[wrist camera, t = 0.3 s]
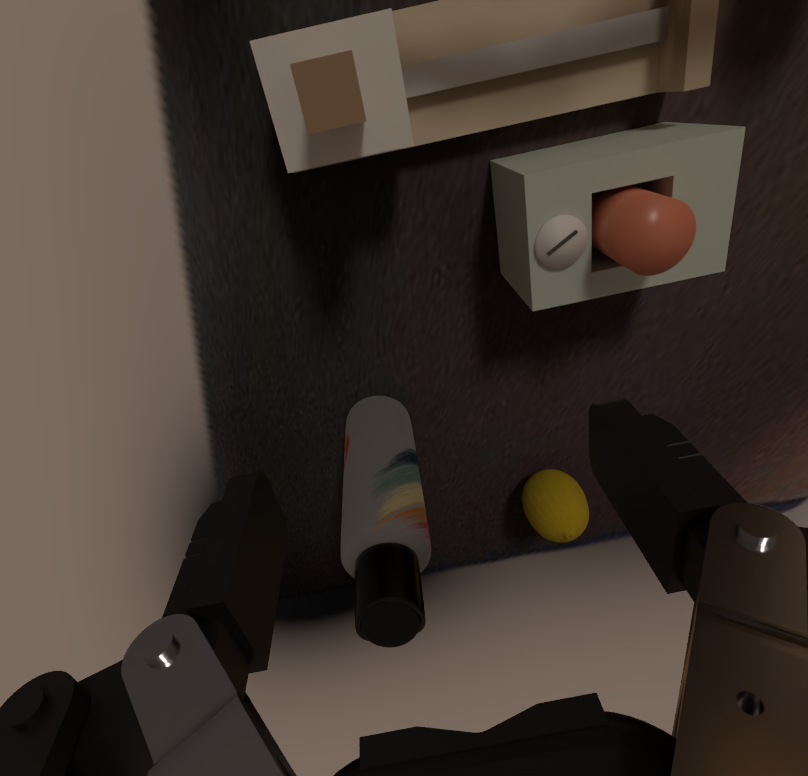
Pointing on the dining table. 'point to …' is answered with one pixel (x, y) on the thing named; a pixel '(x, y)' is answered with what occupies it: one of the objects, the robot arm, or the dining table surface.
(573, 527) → the lemon
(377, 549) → the lotion bottle
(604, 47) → the rail
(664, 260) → the gauge plunger
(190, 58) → the dining table surface
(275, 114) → the carriage
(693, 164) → the cabinet
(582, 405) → the dining table surface
